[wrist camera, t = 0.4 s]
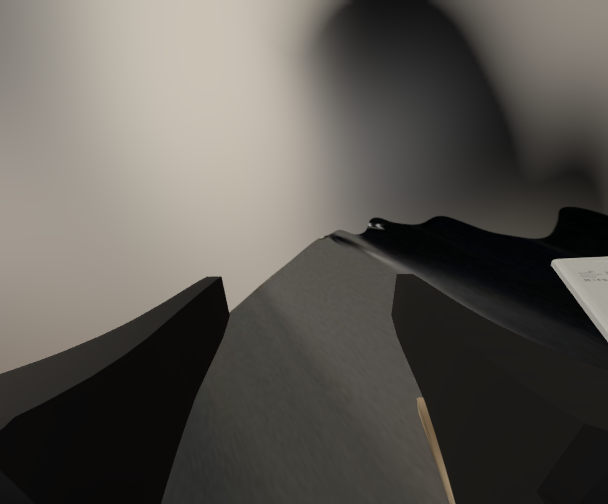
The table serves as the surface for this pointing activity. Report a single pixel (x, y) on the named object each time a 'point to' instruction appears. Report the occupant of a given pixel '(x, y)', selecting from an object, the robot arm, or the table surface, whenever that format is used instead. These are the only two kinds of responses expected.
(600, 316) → the external hard drive
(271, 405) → the table surface
